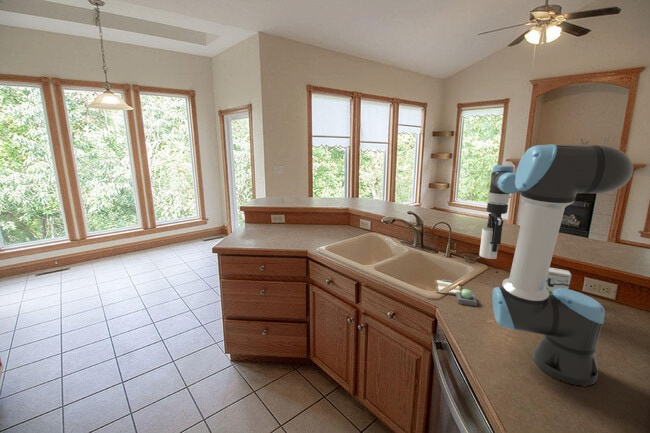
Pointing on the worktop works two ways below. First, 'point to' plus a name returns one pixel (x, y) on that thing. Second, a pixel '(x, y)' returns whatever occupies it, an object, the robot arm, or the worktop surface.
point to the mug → (485, 242)
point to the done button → (466, 294)
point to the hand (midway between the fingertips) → (490, 255)
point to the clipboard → (444, 283)
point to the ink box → (557, 279)
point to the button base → (466, 301)
